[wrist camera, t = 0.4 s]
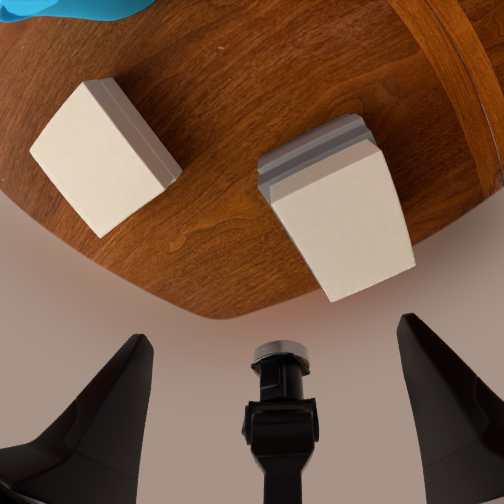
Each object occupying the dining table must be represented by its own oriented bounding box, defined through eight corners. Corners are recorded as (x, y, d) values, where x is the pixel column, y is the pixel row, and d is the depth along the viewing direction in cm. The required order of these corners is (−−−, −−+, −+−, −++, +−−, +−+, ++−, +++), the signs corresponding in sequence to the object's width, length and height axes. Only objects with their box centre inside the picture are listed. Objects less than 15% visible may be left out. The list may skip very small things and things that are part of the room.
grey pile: (391, 215, 21) (413, 248, 18) (313, 251, 24) (322, 289, 20) (348, 109, 16) (371, 122, 13) (255, 155, 19) (253, 180, 15)
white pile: (183, 170, 20) (169, 191, 17) (120, 216, 22) (101, 241, 19) (111, 75, 15) (83, 80, 12) (55, 135, 17) (28, 150, 14)
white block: (403, 245, 17) (416, 265, 16) (326, 280, 19) (331, 303, 18) (366, 138, 13) (382, 150, 12) (269, 185, 15) (270, 204, 14)
